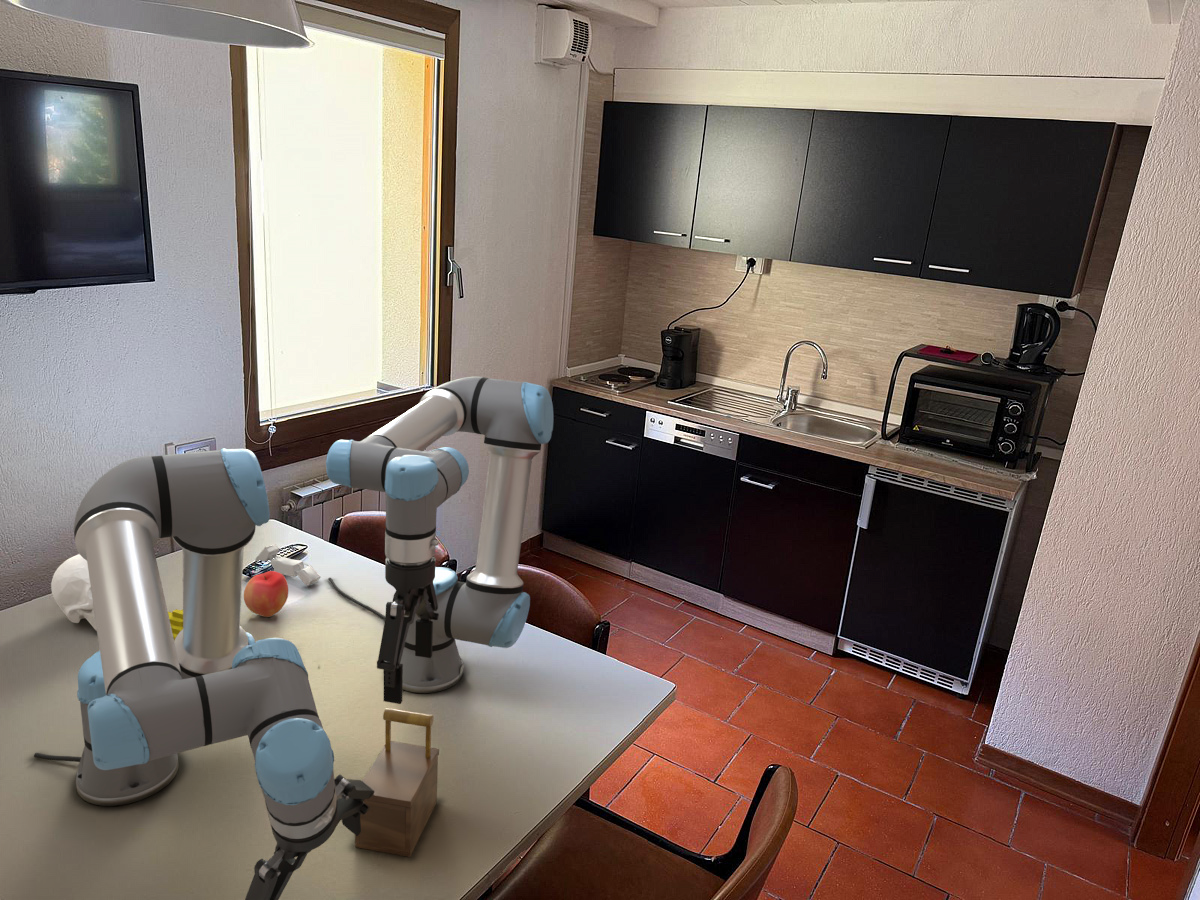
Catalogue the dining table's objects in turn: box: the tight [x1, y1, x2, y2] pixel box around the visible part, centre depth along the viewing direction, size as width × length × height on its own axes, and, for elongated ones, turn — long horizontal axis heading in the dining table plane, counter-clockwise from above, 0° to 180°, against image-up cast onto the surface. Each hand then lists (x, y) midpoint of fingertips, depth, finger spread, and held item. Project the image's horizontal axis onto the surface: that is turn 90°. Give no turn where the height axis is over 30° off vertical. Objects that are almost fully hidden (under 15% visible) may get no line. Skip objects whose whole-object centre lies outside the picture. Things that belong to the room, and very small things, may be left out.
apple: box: [243, 570, 289, 618], centre depth 199 cm, size 10×10×10 cm
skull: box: [50, 553, 97, 632], centre depth 191 cm, size 13×22×16 cm, turn 73°
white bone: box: [254, 544, 322, 587], centre depth 219 cm, size 20×4×7 cm, turn 62°
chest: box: [354, 756, 439, 858], centre depth 139 cm, size 13×9×9 cm
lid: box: [361, 707, 440, 807], centre depth 136 cm, size 13×9×9 cm
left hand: (314, 870), depth 114 cm, fingers open, 13 cm apart
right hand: (409, 677), depth 137 cm, fingers open, 13 cm apart
